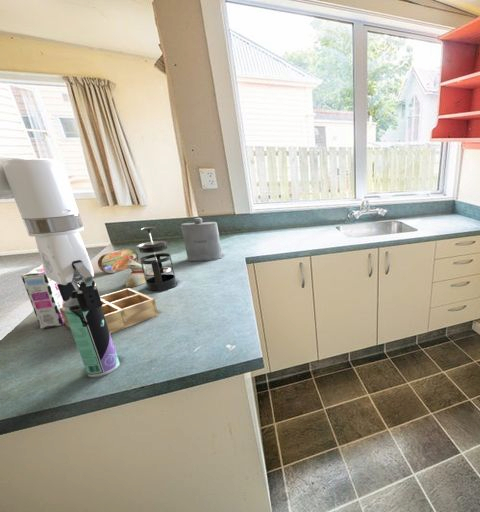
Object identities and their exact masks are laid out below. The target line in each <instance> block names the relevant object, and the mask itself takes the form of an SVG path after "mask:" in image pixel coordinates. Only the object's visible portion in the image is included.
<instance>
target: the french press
mask: <svg viewBox="0 0 480 512" xmlns="http://www.w3.org/2000/svg"><path fill="white" fill-rule="evenodd" d="M156 228H157V227H156V226H146V227H143V228H141V229H140V230H141V231H147V233H148V235H149V239H150V241H146V242H142V243H138V244H137V245H136V248H138V250H139V253H141V254H148V255H144V256H141V257H140V258H139V260H140V264H141V265H142V269H143V273H144V276H145V280H146V282H145V284H146V290H147V291H148V292H151V293H156V292H157V293H158V292H163V291H167V290H171V289H173V288H175V287H177V286H178V281H177V279H176V274H175V269H174V266H173V261H172V257H171V253H167V252H163V251H166V250H167V249H168V246H167V245H168V241H165V240H154V241H153V237H152V230H155V229H156ZM158 252H159V253H158ZM160 252H161V253H160ZM161 257H162V258H161ZM149 259H150V260H149ZM151 259H152V260H151ZM168 261H170V265H171V267H170V266H163V263H164V262H168ZM143 265H151V269H148V270H146V271H145V270H144V267H143ZM147 277H148V278H147Z"/></svg>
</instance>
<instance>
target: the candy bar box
mask: <svg viewBox="0 0 480 512" xmlns="http://www.w3.org/2000/svg"><path fill="white" fill-rule="evenodd" d="M20 277H21V281H22V283H23V285H24V288H25V290H26V293H27V296H28V299H29V301H30V304H31V306H32V309H33V312H34V315H35V318H36V319H37V322H38V325H39V328H40V329H41V330H43V329H49V328H56V327H61V326H64V324H65V322H64V319H63V317H62V314H61V311H60V308H64V306H63V303H65V302H66V301H63V299H62V296H61V294H60V291H59V288H58V286H57V284H58V283H57V282H55V281H53V280H51V279H49V278H48V277H47V275H46V273H45V270H44V267H43V263H42V264H40V265H38V266H36V267H34V268H33V269H31V270H28V271H27V272H25V273H23V274H21V275H20Z"/></svg>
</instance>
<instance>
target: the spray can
mask: <svg viewBox="0 0 480 512" xmlns="http://www.w3.org/2000/svg"><path fill="white" fill-rule="evenodd" d="M75 294H77V291H76V290H75V291H73V292H72V295H71V297H70V299H69V300H68V301H66V302H65V303H63V306H64V308H63V309H64V311H65V314H66V317H67V320H68V322H69V325H70V328H71V329H70V328H69V329H70V330H71V334H72V336H73V339H74V342H75V343H76V347H77V350H78V353H79V355H80V358H81V360H82V363H83V366H84V369H85V372H86V375H87V376H88V377H90V378H99V377H103V376H105V375H108V374H110V373H112V372H114V371H116V370H117V369H118V368H119V367H120V360H119V357H118V354H117V351H116V347H115V345H114V341H113V339H112V334H110V332H109V329H108V326H107V323H106V320H105V316H104V313H103V310H102V307H98V308H95V309H92V310H89V311H86V312H83V311H81V309H80V306H79V303H78V300H77V298H76V295H75Z"/></svg>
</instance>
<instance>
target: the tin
mask: <svg viewBox="0 0 480 512" xmlns="http://www.w3.org/2000/svg"><path fill="white" fill-rule="evenodd" d="M129 260H133V261H135V262H137V263H139V255H138V252H137V251H136V250H134V249H132V248H122V249H119V250H114V251H112V252H108V253H105V254H102V255H101V256H100V257H99V258H98V259H97V267H98V268H99V270H100V271H101V272H103V273H106V274H107V273H108V274H115V273H119V272H121V271H125V270H127V269H129V268H128V267H127V264H128V263H129Z"/></svg>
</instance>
